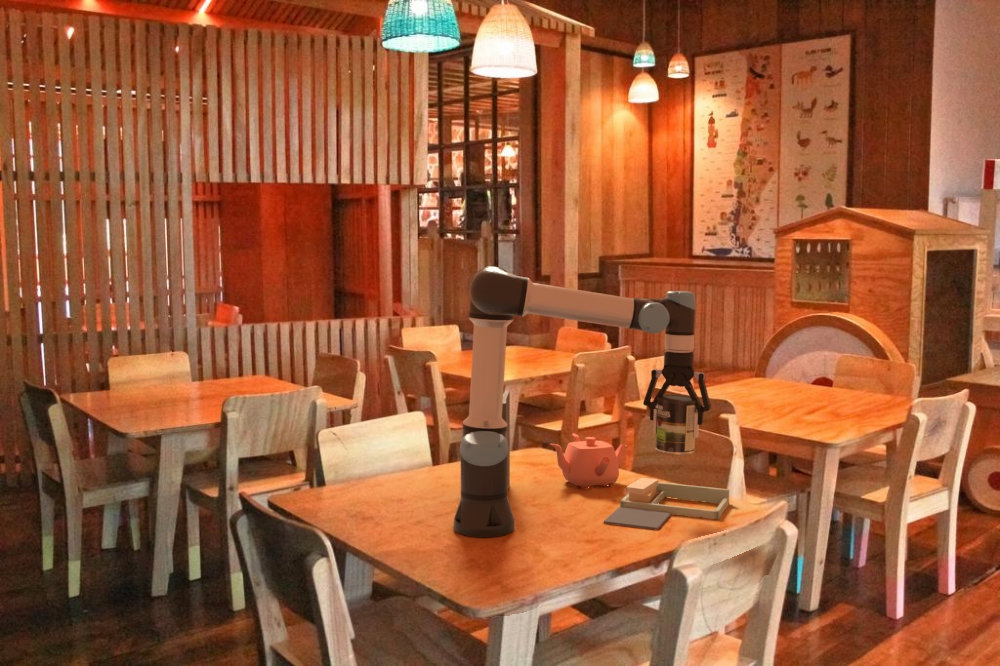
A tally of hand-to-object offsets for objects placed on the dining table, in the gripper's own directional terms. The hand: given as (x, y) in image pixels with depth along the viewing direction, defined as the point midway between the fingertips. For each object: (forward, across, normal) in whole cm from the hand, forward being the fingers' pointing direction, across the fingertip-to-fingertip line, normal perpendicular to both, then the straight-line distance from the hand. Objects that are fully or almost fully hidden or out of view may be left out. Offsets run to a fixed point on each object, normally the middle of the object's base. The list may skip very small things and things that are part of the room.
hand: (675, 434), depth 250 cm
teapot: (+21, +29, -19) cm, 41 cm away
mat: (+21, +7, +10) cm, 24 cm away
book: (+21, +51, +4) cm, 55 cm away
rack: (+21, +1, -6) cm, 21 cm away
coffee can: (+5, 0, 0) cm, 5 cm away
